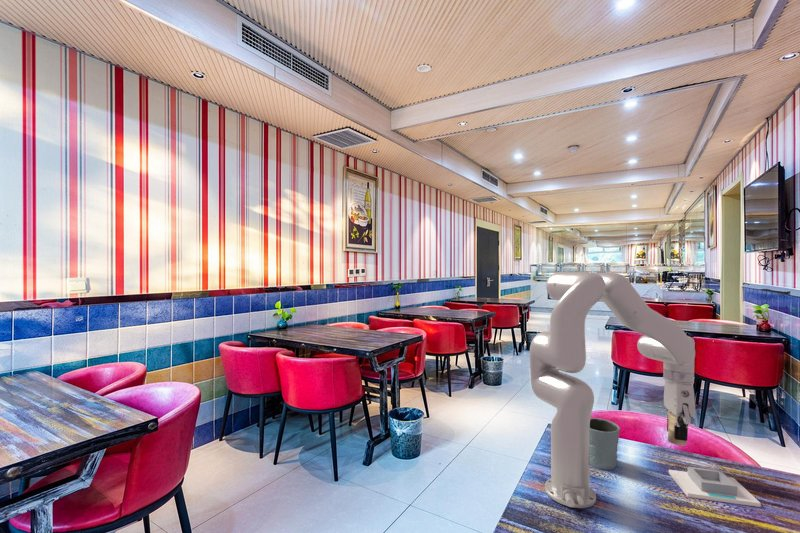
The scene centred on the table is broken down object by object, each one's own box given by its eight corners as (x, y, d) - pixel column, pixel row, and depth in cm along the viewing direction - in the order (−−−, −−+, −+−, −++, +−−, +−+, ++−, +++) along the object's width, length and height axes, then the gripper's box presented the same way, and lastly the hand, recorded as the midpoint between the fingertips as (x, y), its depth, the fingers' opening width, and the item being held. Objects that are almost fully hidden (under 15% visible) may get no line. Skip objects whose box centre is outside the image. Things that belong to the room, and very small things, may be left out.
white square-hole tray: (760, 507, 96) (760, 493, 96) (687, 496, 100) (687, 483, 100) (733, 481, 108) (733, 468, 108) (668, 472, 112) (668, 461, 112)
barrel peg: (688, 446, 112) (689, 419, 112) (671, 444, 113) (672, 417, 113) (681, 440, 116) (682, 414, 116) (665, 438, 117) (666, 412, 117)
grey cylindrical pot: (612, 456, 122) (612, 419, 122) (625, 473, 112) (625, 432, 112) (578, 453, 124) (578, 416, 124) (588, 469, 114) (588, 430, 114)
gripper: (707, 385, 105) (705, 450, 105) (680, 370, 122) (678, 426, 122) (676, 382, 107) (674, 446, 107) (653, 367, 124) (652, 423, 124)
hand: (676, 435), depth 114 cm, fingers closed on barrel peg, 4 cm apart
